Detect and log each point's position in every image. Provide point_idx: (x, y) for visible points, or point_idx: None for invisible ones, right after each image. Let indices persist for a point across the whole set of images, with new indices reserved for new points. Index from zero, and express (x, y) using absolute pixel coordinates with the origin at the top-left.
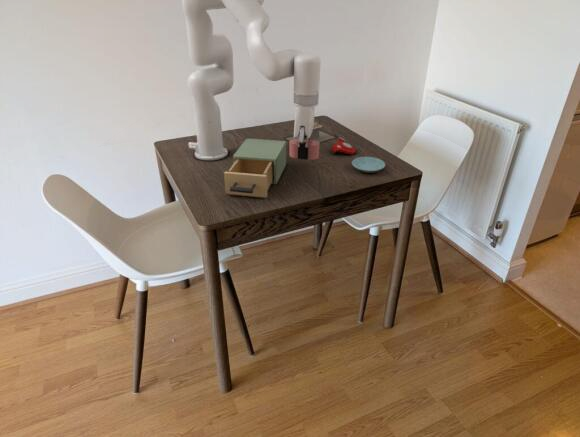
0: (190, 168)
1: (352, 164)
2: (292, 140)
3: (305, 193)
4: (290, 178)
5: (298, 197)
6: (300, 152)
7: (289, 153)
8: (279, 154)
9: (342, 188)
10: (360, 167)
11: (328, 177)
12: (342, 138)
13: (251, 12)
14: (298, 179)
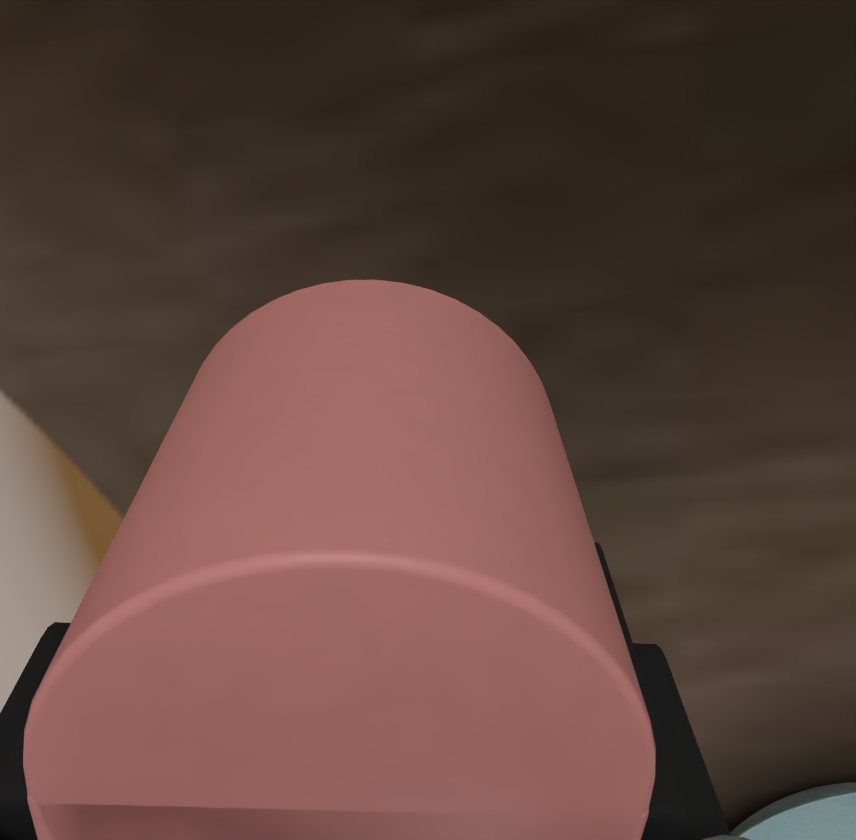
0: None
1: (846, 795)
2: (410, 661)
3: (189, 360)
4: (612, 105)
5: (56, 289)
6: (4, 729)
7: (311, 307)
8: None
9: None
10: (846, 807)
11: (644, 561)
12: None
13: None
14: (582, 229)
